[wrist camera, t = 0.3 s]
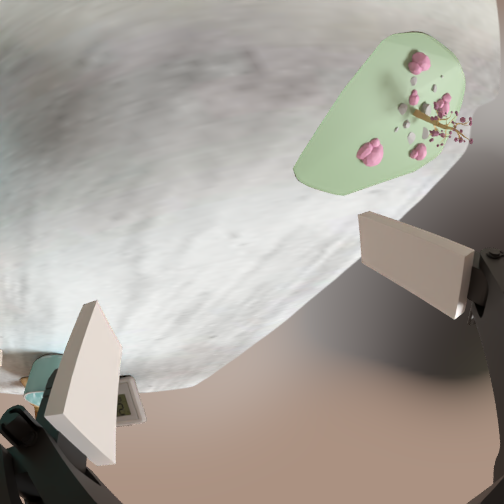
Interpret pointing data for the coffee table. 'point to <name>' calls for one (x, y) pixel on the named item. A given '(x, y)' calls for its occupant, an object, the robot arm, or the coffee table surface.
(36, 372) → the bowl
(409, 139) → the plant
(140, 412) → the digital clock
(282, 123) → the coffee table surface
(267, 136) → the coffee table surface
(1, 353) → the tray
